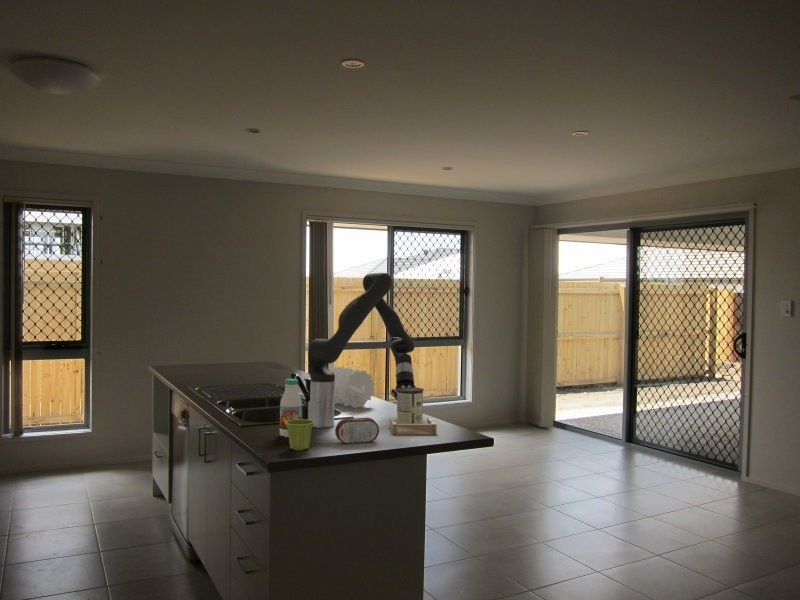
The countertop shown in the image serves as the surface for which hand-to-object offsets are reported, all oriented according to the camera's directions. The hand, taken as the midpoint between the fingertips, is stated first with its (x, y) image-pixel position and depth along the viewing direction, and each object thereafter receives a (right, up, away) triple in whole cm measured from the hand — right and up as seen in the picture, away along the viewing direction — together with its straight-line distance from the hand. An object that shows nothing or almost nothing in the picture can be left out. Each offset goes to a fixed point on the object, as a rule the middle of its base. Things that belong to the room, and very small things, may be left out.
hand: (407, 409), depth 263 cm
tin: (-17, -4, -42) cm, 46 cm away
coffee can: (+1, -5, -9) cm, 10 cm away
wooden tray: (+2, -4, -19) cm, 20 cm away
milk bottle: (-42, -4, -32) cm, 53 cm away
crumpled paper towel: (-28, -4, +35) cm, 45 cm away
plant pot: (-36, -4, -51) cm, 63 cm away
